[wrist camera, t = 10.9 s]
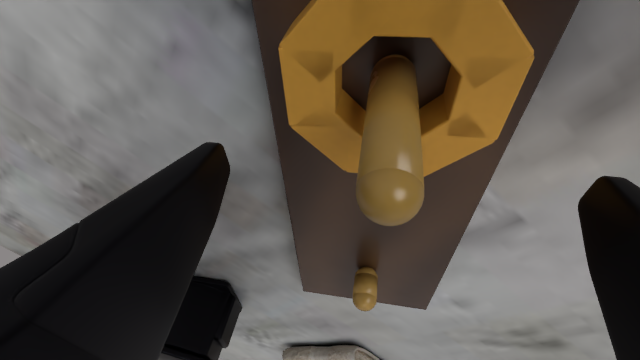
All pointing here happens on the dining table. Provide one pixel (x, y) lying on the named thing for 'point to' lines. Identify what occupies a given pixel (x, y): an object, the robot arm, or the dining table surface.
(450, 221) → the peg rack
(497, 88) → the ring
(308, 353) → the washcloth
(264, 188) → the dining table surface
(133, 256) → the robot arm
